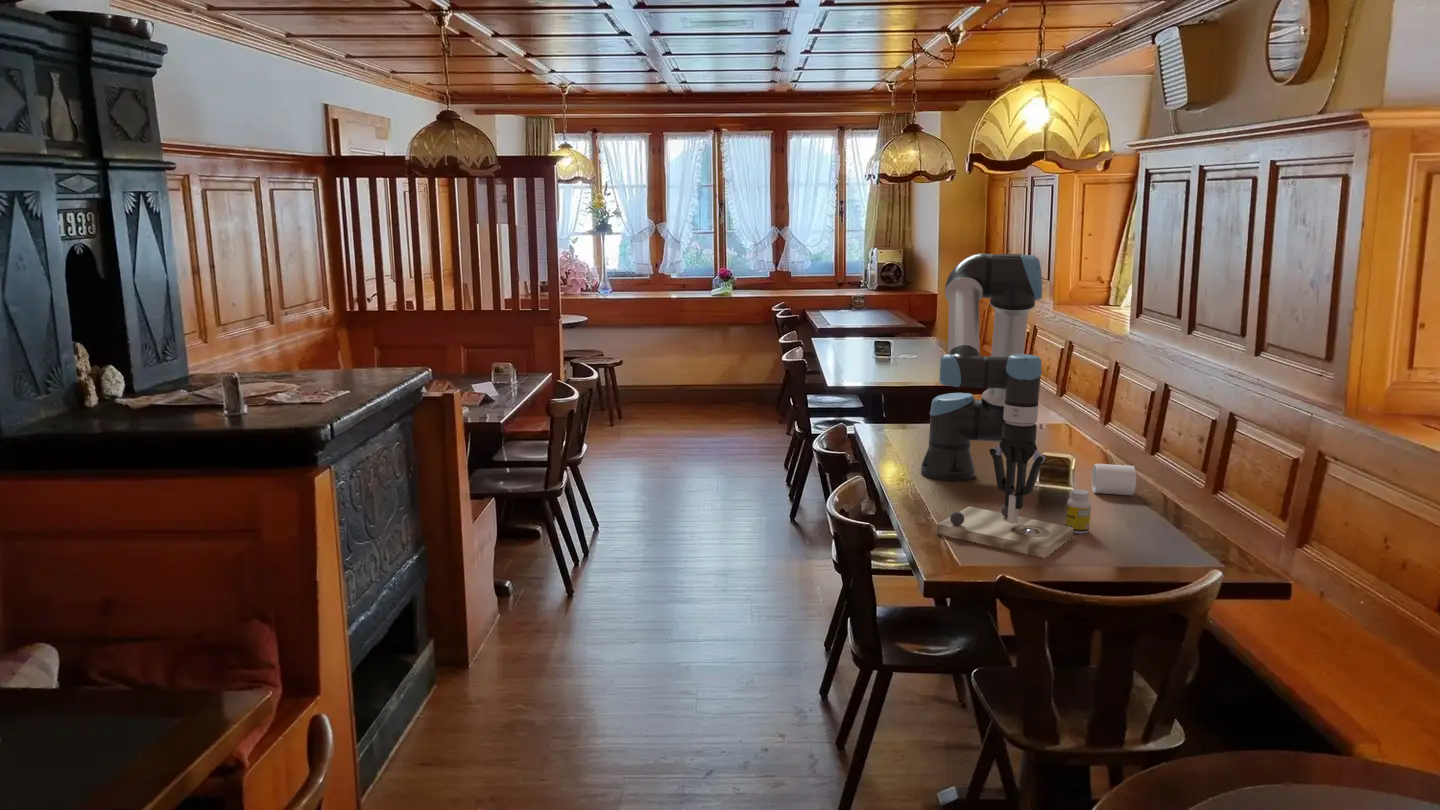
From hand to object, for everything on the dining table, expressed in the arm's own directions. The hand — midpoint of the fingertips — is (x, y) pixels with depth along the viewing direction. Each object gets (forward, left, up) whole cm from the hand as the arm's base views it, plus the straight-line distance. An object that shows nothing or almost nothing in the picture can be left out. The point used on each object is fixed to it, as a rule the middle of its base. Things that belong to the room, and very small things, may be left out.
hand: (1012, 521), depth 236 cm
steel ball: (+4, 0, -3) cm, 5 cm away
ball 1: (-11, -7, 0) cm, 13 cm away
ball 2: (-4, +7, 0) cm, 8 cm away
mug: (+6, +55, -4) cm, 56 cm away
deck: (-2, 0, -4) cm, 4 cm away
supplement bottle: (+10, +15, -4) cm, 19 cm away
